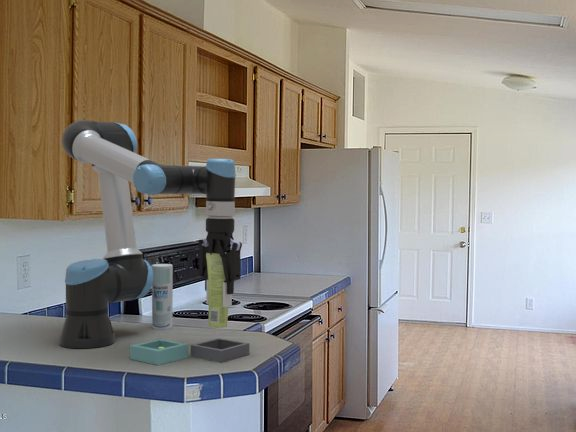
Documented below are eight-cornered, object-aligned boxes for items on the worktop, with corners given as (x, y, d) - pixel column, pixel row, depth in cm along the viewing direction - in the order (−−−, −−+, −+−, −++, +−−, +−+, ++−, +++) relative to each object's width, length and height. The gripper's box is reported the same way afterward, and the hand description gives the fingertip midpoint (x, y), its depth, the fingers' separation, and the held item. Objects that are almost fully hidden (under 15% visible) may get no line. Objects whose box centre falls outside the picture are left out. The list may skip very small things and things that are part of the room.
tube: (220, 323, 194) (222, 251, 193) (233, 326, 191) (234, 253, 190) (204, 326, 190) (205, 253, 189) (217, 329, 187) (218, 254, 186)
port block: (130, 359, 186) (130, 343, 186) (160, 351, 194) (160, 336, 194) (158, 365, 180) (158, 348, 180) (187, 357, 188) (187, 341, 188)
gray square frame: (190, 356, 189) (190, 344, 189) (218, 348, 198) (218, 337, 198) (221, 362, 183) (221, 350, 183) (249, 354, 192) (249, 343, 191)
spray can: (174, 326, 230) (174, 263, 229) (170, 330, 223) (170, 266, 222) (154, 325, 230) (154, 263, 229) (149, 330, 223) (149, 266, 223)
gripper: (185, 216, 191) (184, 302, 193) (237, 219, 180) (235, 311, 182) (204, 215, 197) (203, 299, 199) (255, 218, 186) (254, 307, 188)
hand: (218, 304), depth 190 cm, fingers closed on tube, 5 cm apart
